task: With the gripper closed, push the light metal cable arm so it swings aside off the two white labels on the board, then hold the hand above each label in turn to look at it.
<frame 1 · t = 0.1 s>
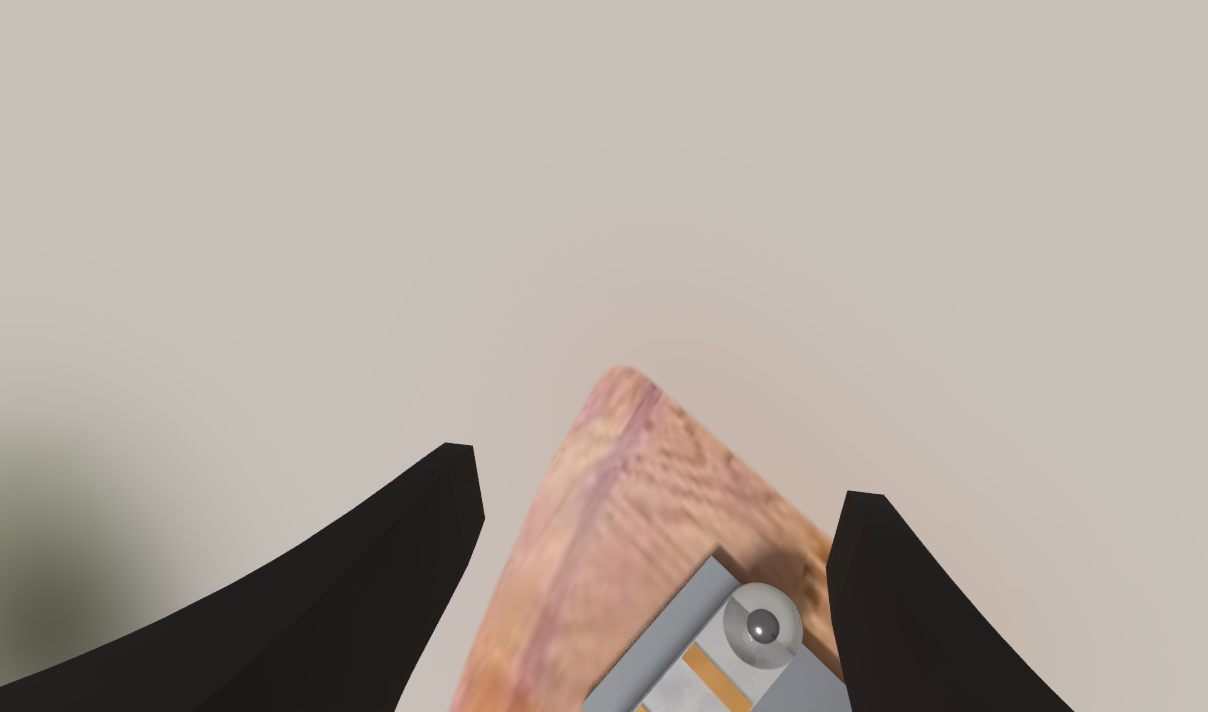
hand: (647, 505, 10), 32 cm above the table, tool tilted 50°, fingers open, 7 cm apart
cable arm: (710, 684, 34), point 3 cm above the table, hinge at 0.0°
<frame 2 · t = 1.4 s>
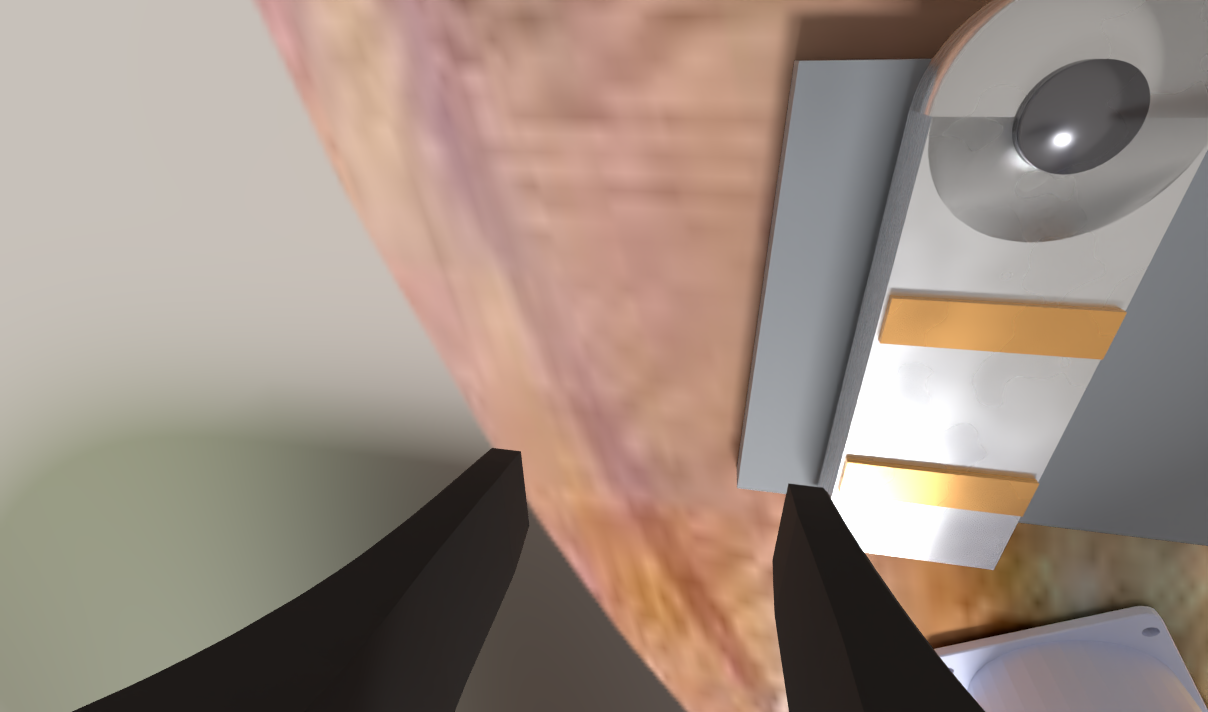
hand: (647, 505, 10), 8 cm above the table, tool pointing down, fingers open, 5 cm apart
label board: (1113, 351, 15), on the table
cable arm: (975, 332, 13), point 3 cm above the table, hinge at 0.0°
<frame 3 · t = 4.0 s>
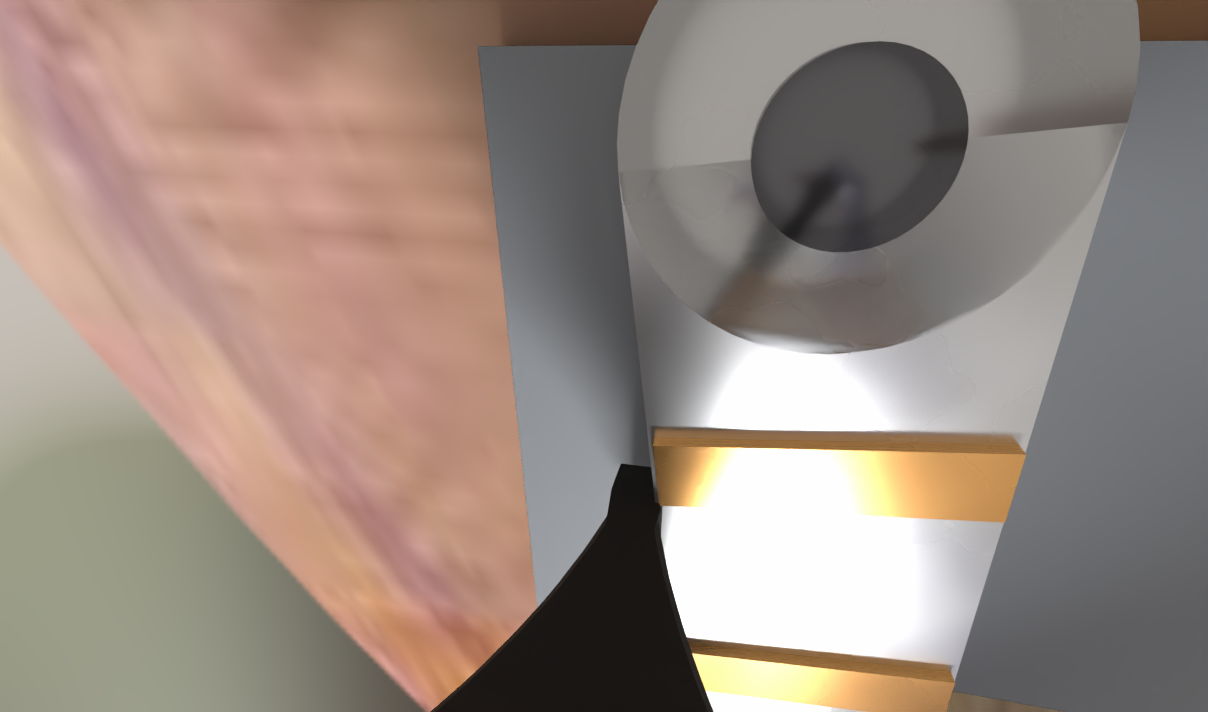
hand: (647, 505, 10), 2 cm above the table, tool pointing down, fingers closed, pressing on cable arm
label board: (1007, 471, 11), on the table
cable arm: (813, 472, 9), point 3 cm above the table, hinge at 7.3°, touching gripper
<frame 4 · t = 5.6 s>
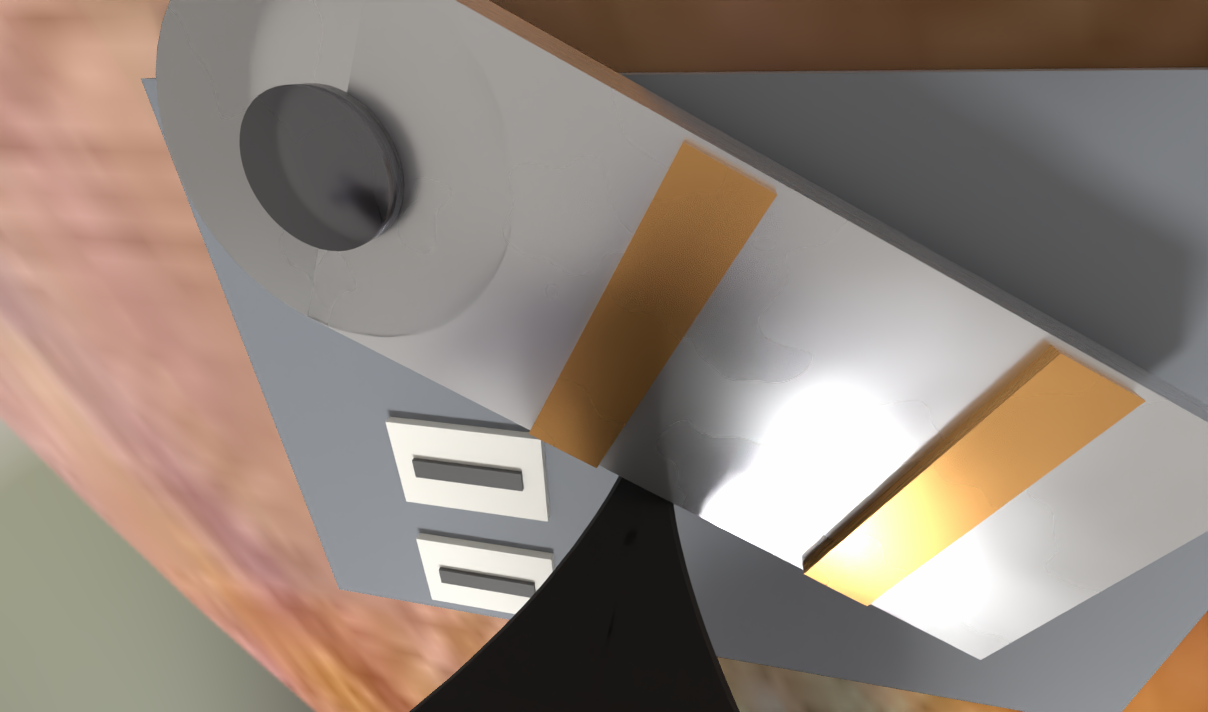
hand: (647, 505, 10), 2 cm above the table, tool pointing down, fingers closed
label board: (694, 447, 12), on the table
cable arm: (670, 325, 8), point 3 cm above the table, hinge at 63.5°, touching gripper
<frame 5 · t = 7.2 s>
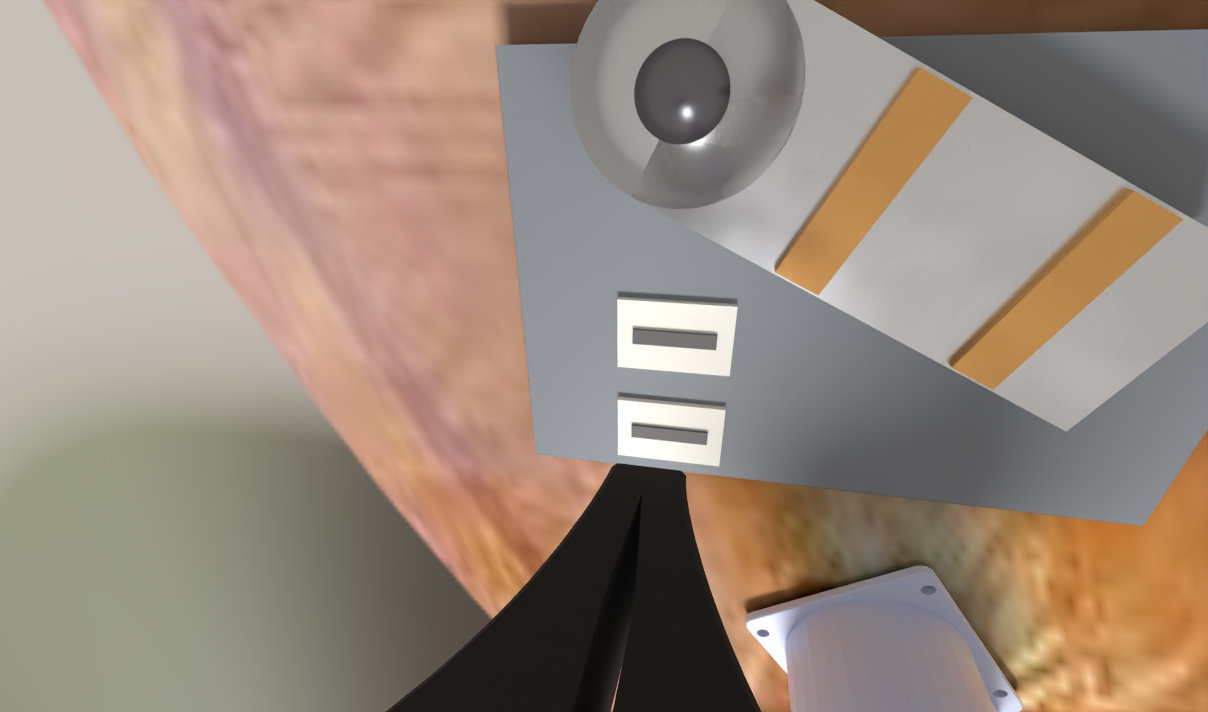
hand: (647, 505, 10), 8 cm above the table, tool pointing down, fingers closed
label board: (840, 318, 17), on the table
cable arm: (874, 196, 12), point 3 cm above the table, hinge at 63.7°
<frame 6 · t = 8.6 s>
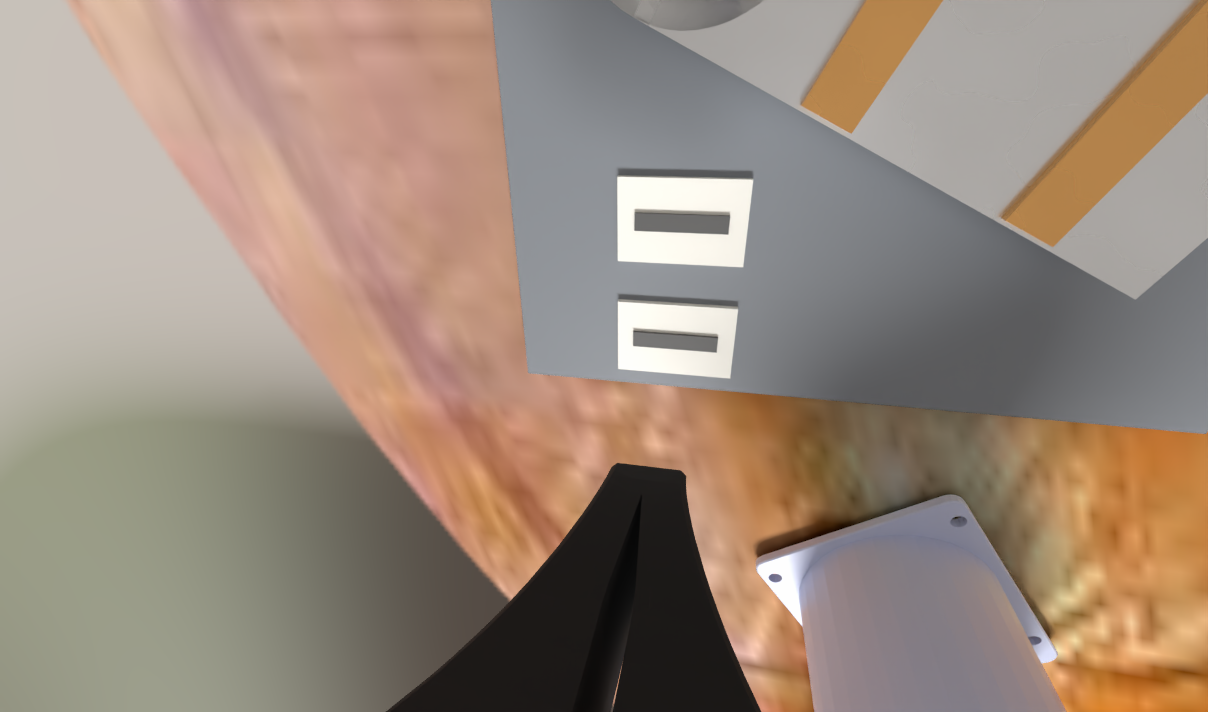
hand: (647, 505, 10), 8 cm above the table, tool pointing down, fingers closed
label board: (867, 199, 15), on the table
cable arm: (919, 9, 11), point 3 cm above the table, hinge at 63.7°
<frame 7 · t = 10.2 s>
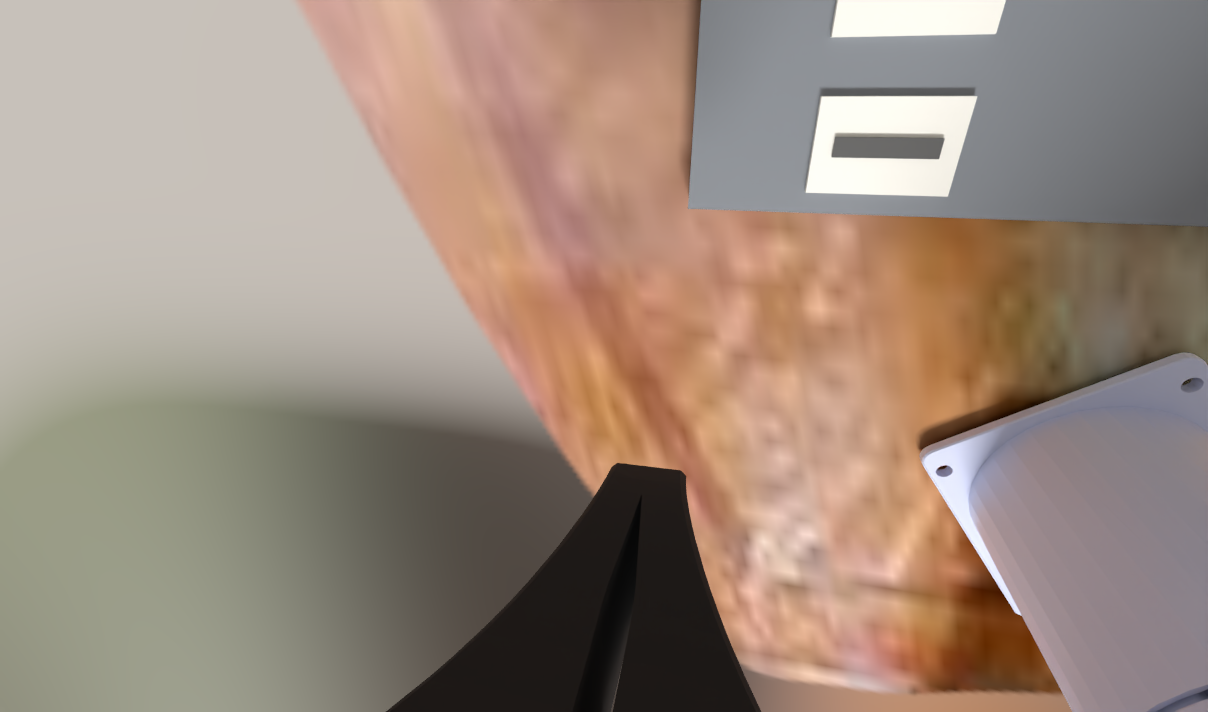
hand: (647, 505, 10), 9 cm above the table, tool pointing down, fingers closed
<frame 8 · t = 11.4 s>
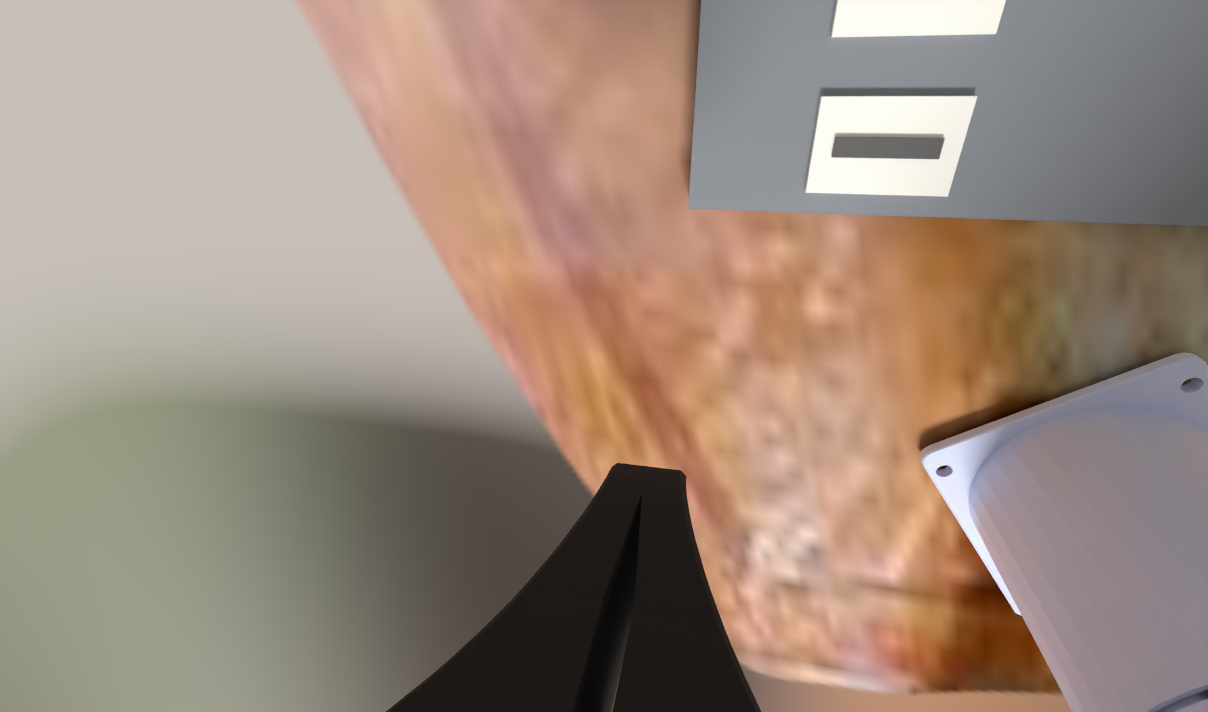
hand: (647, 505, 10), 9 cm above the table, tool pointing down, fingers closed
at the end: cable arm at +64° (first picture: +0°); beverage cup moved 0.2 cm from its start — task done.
